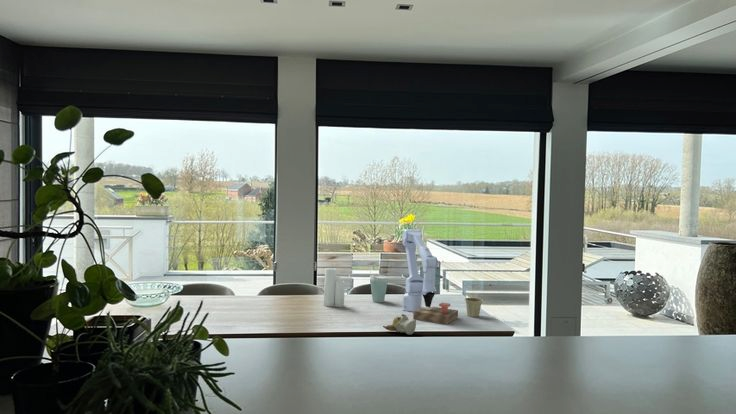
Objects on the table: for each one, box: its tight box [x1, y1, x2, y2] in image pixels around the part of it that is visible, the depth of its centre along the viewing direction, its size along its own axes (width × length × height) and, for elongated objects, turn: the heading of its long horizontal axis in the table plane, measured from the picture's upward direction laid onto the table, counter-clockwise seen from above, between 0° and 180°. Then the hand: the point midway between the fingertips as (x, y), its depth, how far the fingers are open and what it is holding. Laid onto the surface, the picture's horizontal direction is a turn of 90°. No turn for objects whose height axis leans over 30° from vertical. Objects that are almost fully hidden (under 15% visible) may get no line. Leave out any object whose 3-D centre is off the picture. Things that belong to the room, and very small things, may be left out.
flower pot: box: [464, 297, 484, 318], centre depth 291 cm, size 9×9×9 cm
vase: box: [323, 267, 346, 308], centre depth 302 cm, size 11×7×20 cm, turn 86°
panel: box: [412, 306, 459, 325], centre depth 281 cm, size 18×16×4 cm
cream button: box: [421, 305, 435, 310], centre depth 283 cm, size 4×4×5 cm
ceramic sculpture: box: [382, 313, 417, 336], centre depth 252 cm, size 11×9×15 cm
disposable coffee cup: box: [369, 274, 389, 304], centre depth 317 cm, size 11×11×15 cm
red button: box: [438, 302, 451, 313], centre depth 279 cm, size 4×4×5 cm
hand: (427, 306), depth 283 cm, fingers closed, pressing on cream button
